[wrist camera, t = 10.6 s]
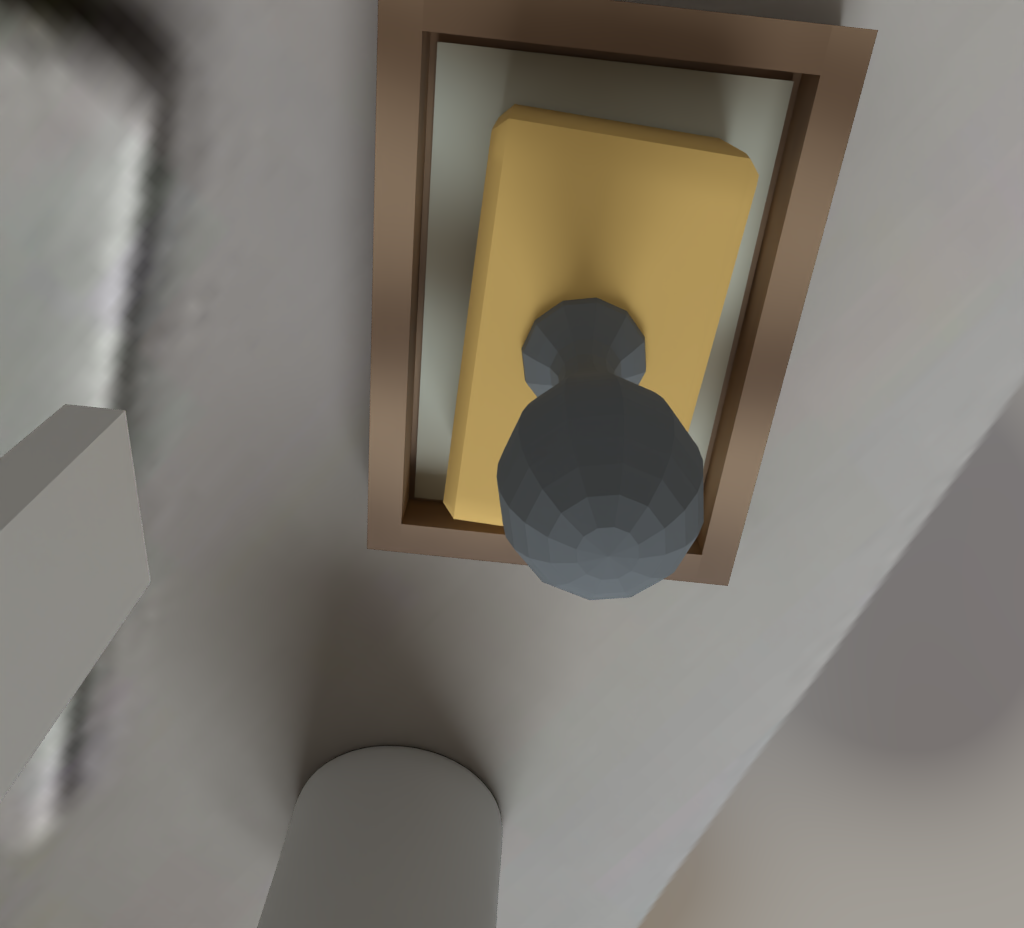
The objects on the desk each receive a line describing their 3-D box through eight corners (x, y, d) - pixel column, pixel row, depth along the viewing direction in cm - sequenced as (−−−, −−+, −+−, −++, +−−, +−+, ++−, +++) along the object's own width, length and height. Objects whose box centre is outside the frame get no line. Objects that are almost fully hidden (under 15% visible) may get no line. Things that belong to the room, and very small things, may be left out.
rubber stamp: (501, 101, 20) (452, 171, 9) (731, 140, 20) (937, 251, 10) (454, 457, 25) (385, 773, 14) (642, 485, 25) (716, 818, 14)
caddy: (397, -19, 20) (378, -26, 18) (841, 31, 20) (877, 30, 18) (381, 506, 27) (367, 548, 25) (712, 541, 27) (728, 585, 25)
